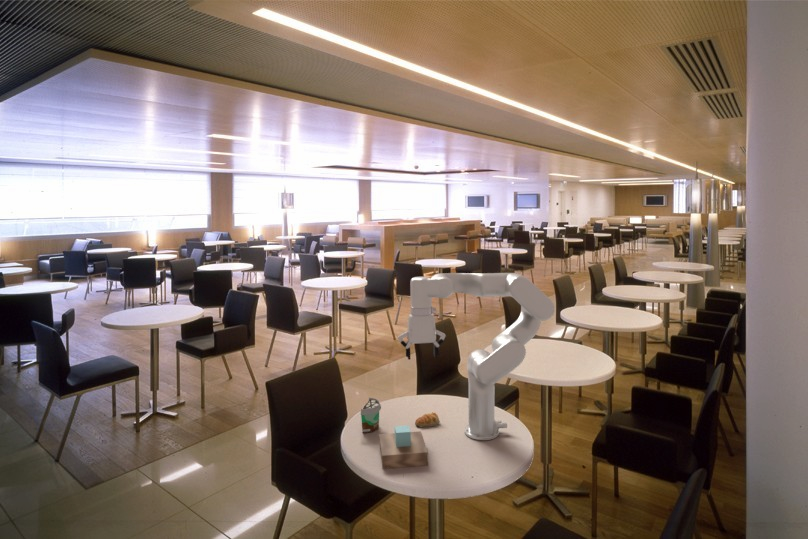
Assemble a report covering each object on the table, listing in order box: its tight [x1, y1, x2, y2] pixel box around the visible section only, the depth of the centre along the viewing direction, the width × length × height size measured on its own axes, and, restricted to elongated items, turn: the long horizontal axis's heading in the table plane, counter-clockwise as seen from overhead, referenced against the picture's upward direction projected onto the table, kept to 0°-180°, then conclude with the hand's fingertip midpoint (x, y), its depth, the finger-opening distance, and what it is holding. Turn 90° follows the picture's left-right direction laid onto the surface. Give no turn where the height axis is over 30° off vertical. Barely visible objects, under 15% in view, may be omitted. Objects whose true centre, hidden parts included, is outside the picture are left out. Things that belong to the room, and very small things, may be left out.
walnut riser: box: [378, 430, 429, 470], centre depth 164 cm, size 15×15×4 cm
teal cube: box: [394, 425, 412, 447], centre depth 163 cm, size 5×5×5 cm
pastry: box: [414, 412, 441, 428], centre depth 188 cm, size 9×7×4 cm
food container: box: [360, 397, 382, 434], centre depth 184 cm, size 12×6×10 cm, turn 168°
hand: (422, 357), depth 173 cm, fingers open, 9 cm apart
